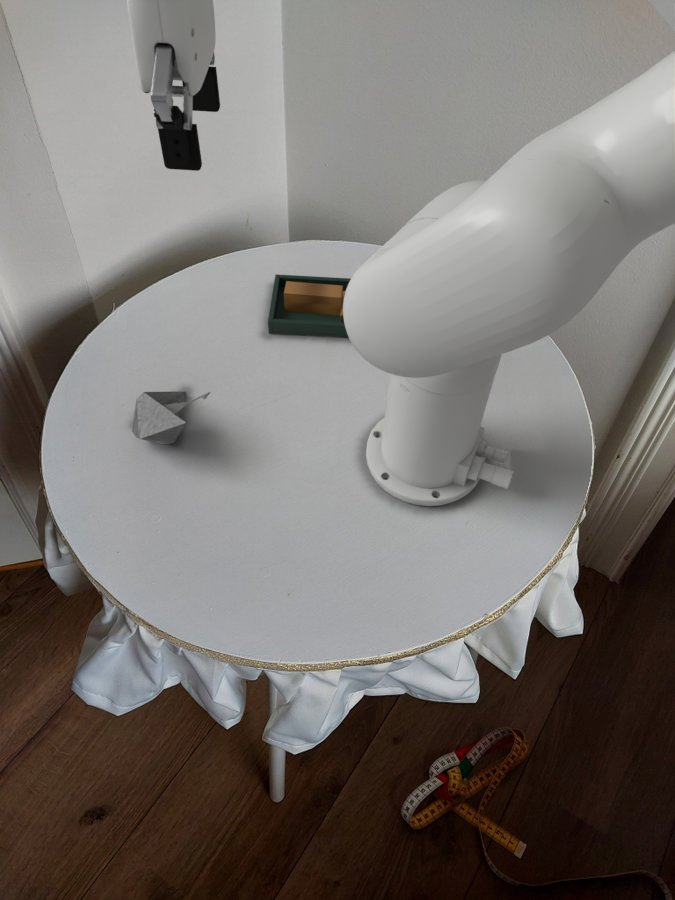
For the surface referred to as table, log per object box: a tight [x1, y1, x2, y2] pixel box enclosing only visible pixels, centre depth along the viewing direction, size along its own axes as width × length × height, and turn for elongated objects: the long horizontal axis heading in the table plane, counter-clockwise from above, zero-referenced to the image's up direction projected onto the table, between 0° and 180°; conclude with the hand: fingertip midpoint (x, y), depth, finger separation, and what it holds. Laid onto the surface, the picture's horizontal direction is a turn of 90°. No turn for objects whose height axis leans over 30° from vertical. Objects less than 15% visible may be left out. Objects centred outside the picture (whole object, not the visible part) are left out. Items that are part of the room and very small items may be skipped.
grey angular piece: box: [131, 391, 211, 445], centre depth 77 cm, size 12×6×9 cm
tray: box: [267, 274, 352, 339], centre depth 90 cm, size 17×9×2 cm, turn 87°
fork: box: [284, 281, 346, 322], centre depth 89 cm, size 14×4×3 cm, turn 85°
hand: (194, 137), depth 66 cm, fingers open, 9 cm apart
